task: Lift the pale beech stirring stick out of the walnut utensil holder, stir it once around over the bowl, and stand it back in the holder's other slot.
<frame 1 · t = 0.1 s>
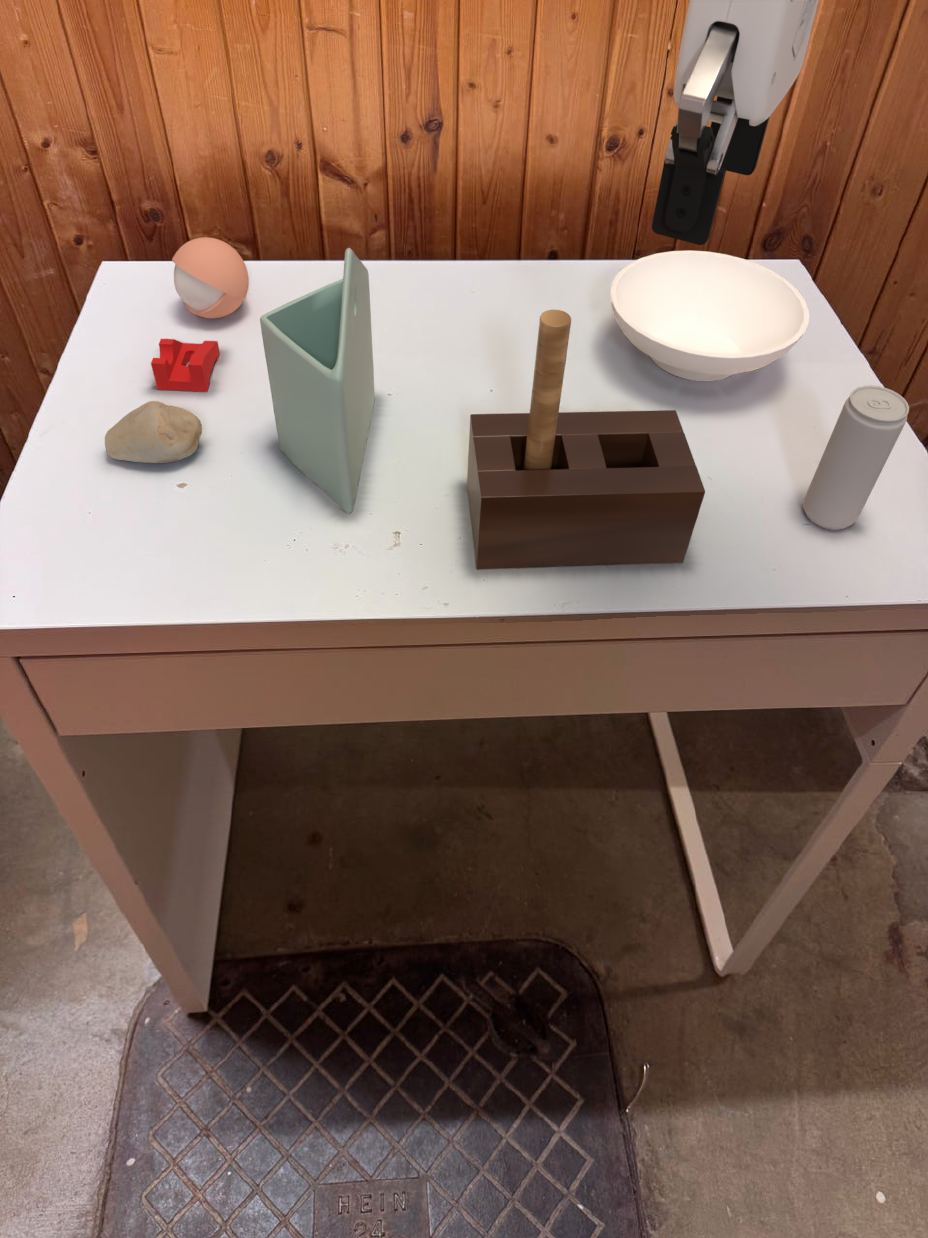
hand: (704, 201, 54), 30 cm above the table, tool pointing down, fingers open, 9 cm apart
stone: (160, 451, 85), on the table
toy ball: (217, 313, 99), on the table
bowl: (693, 360, 97), on the table
stirring stick: (530, 524, 80), resting in holder
holder: (571, 523, 80), on the table
bracket: (189, 372, 92), on the table
planter: (322, 451, 85), on the table
beverage can: (827, 515, 82), on the table
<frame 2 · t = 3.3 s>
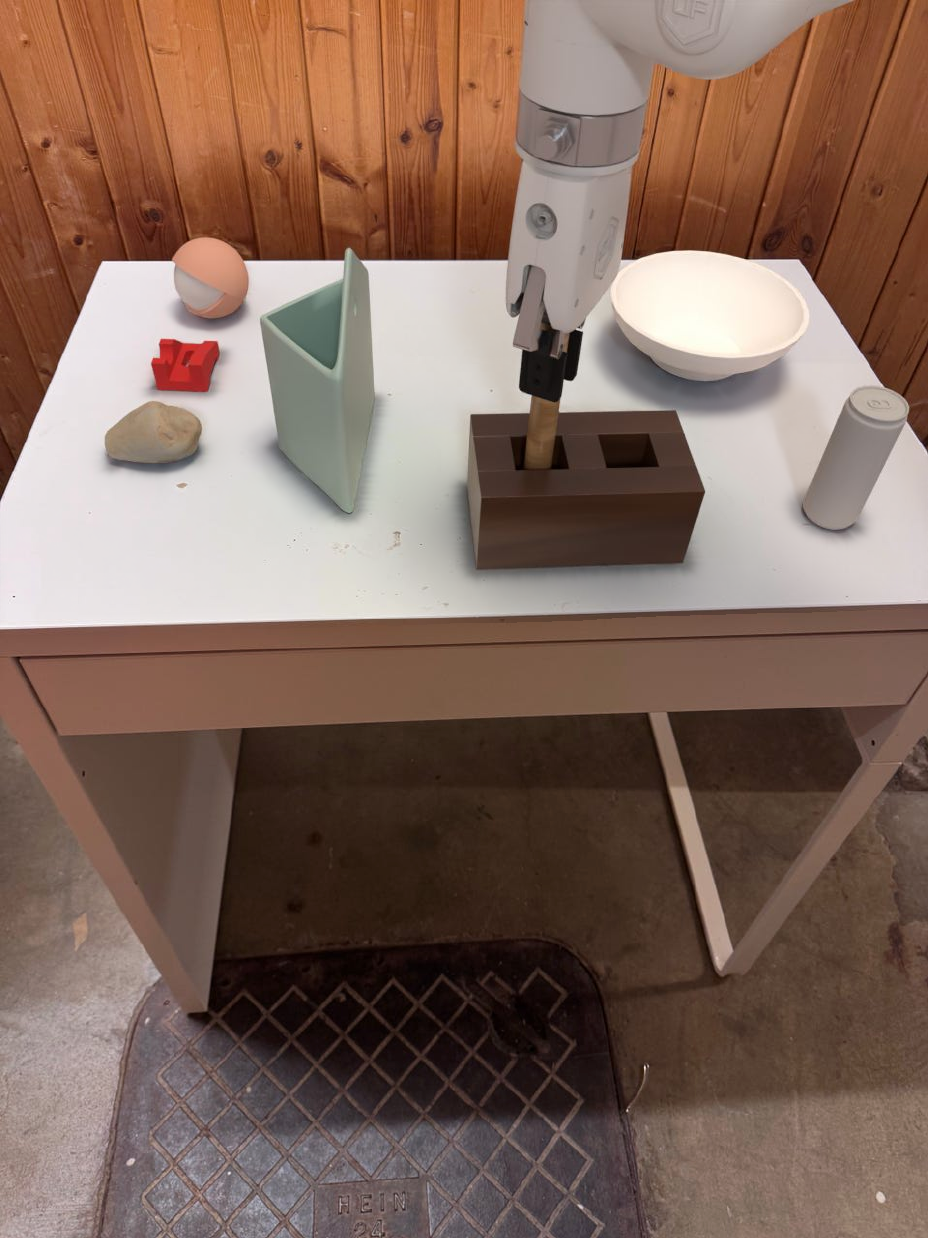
hand: (547, 382, 69), 15 cm above the table, tool pointing down, fingers closed on stirring stick, 2 cm apart
stirring stick: (530, 524, 80), resting in holder, touching gripper
everything else where it was.
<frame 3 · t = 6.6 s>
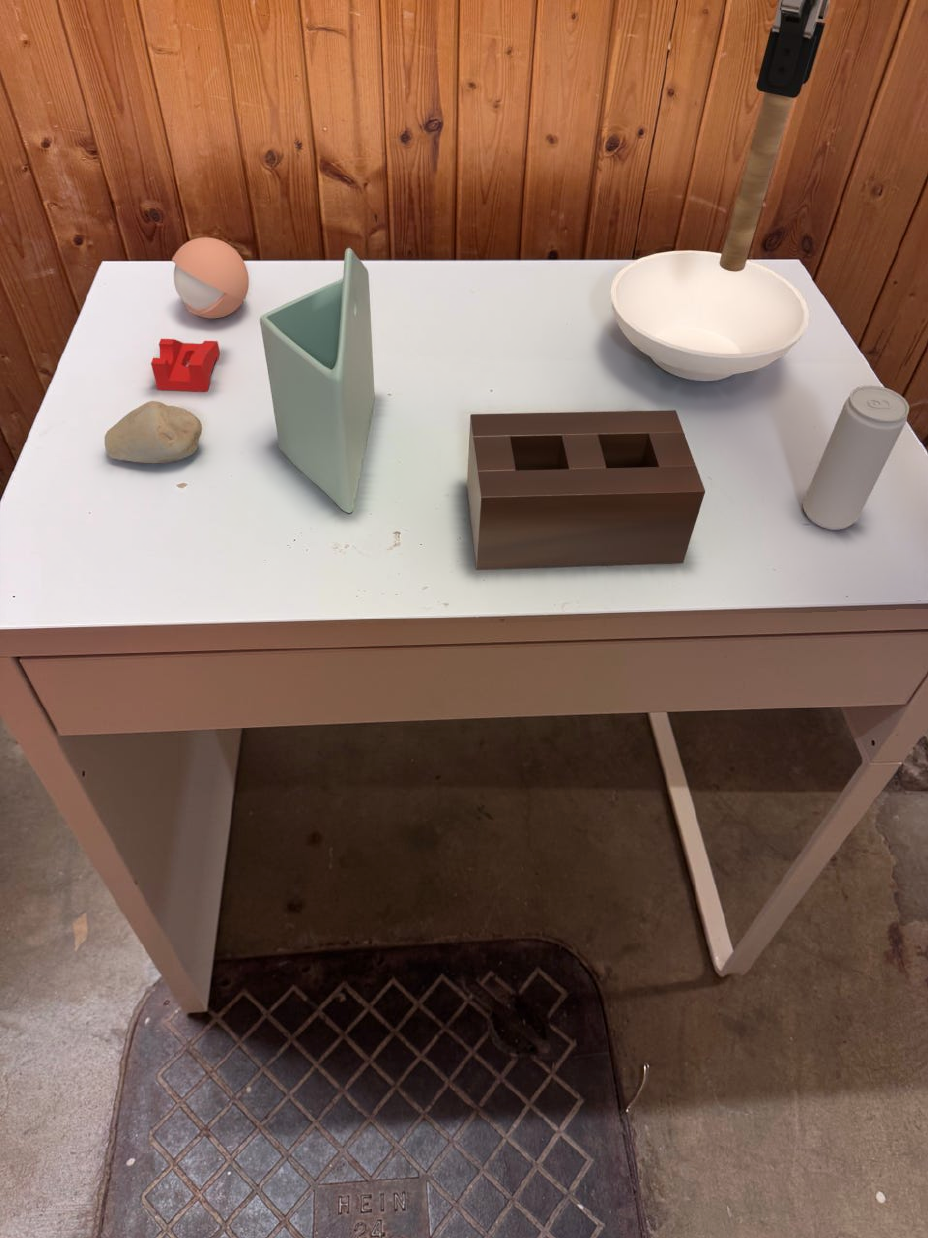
hand: (782, 83, 69), 29 cm above the table, tool pointing down, fingers closed on stirring stick
stirring stick: (731, 265, 81), point 15 cm above the table, touching gripper
everything else where it was.
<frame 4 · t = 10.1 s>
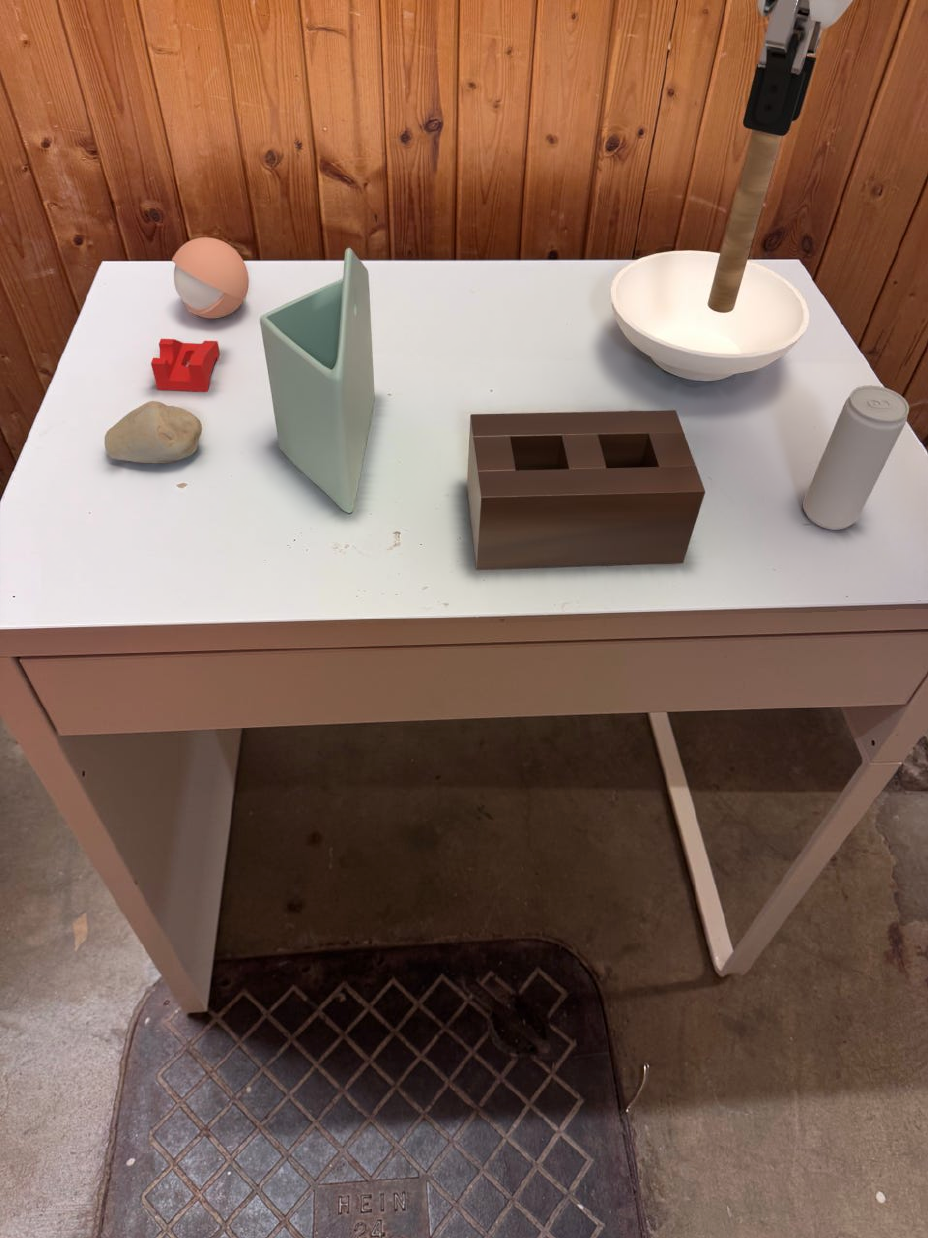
hand: (771, 120, 66), 29 cm above the table, tool pointing down, fingers closed on stirring stick
stirring stick: (720, 305, 77), point 14 cm above the table, touching gripper
everything else where it was.
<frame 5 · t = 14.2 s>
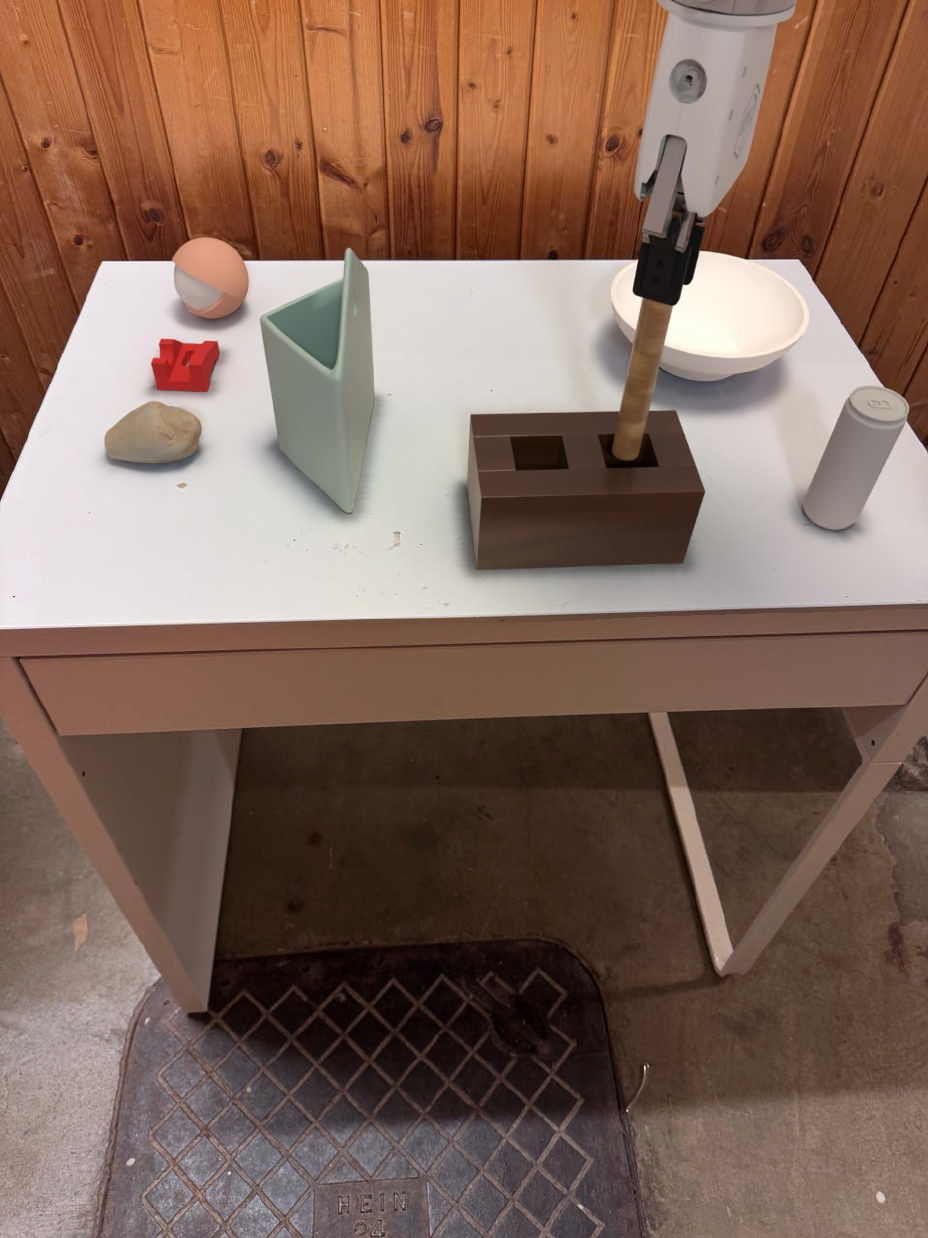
hand: (662, 286, 63), 22 cm above the table, tool pointing down, fingers closed on stirring stick
stirring stick: (625, 452, 74), point 8 cm above the table, touching gripper
everything else where it was.
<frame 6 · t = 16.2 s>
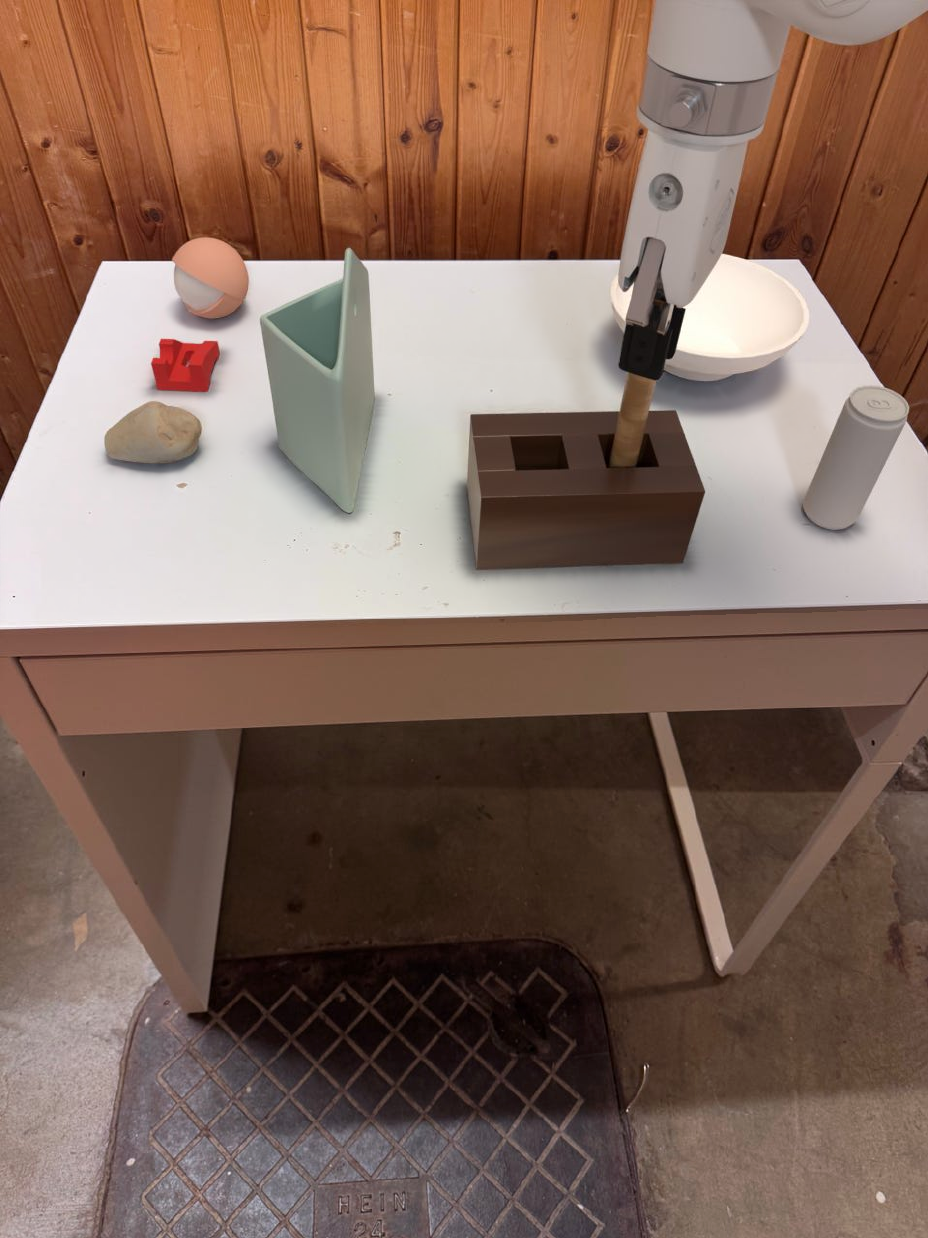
hand: (646, 361, 68), 16 cm above the table, tool pointing down, fingers closed on stirring stick, 2 cm apart
stirring stick: (613, 506, 79), point 2 cm above the table, touching gripper
everything else where it was.
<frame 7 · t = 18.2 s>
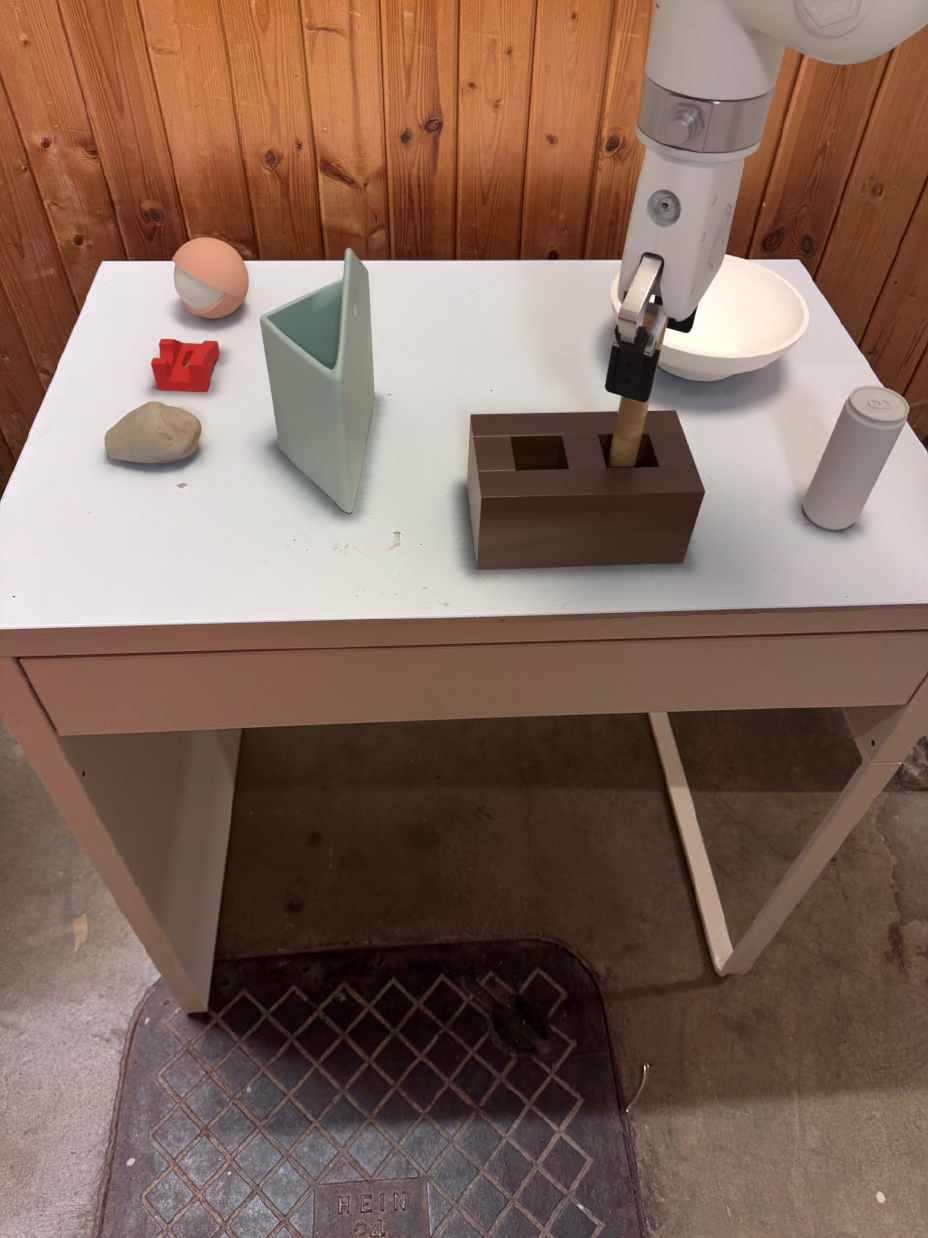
hand: (649, 359, 68), 17 cm above the table, tool pointing down, fingers open, 9 cm apart
stirring stick: (609, 521, 80), resting in holder
everything else where it was.
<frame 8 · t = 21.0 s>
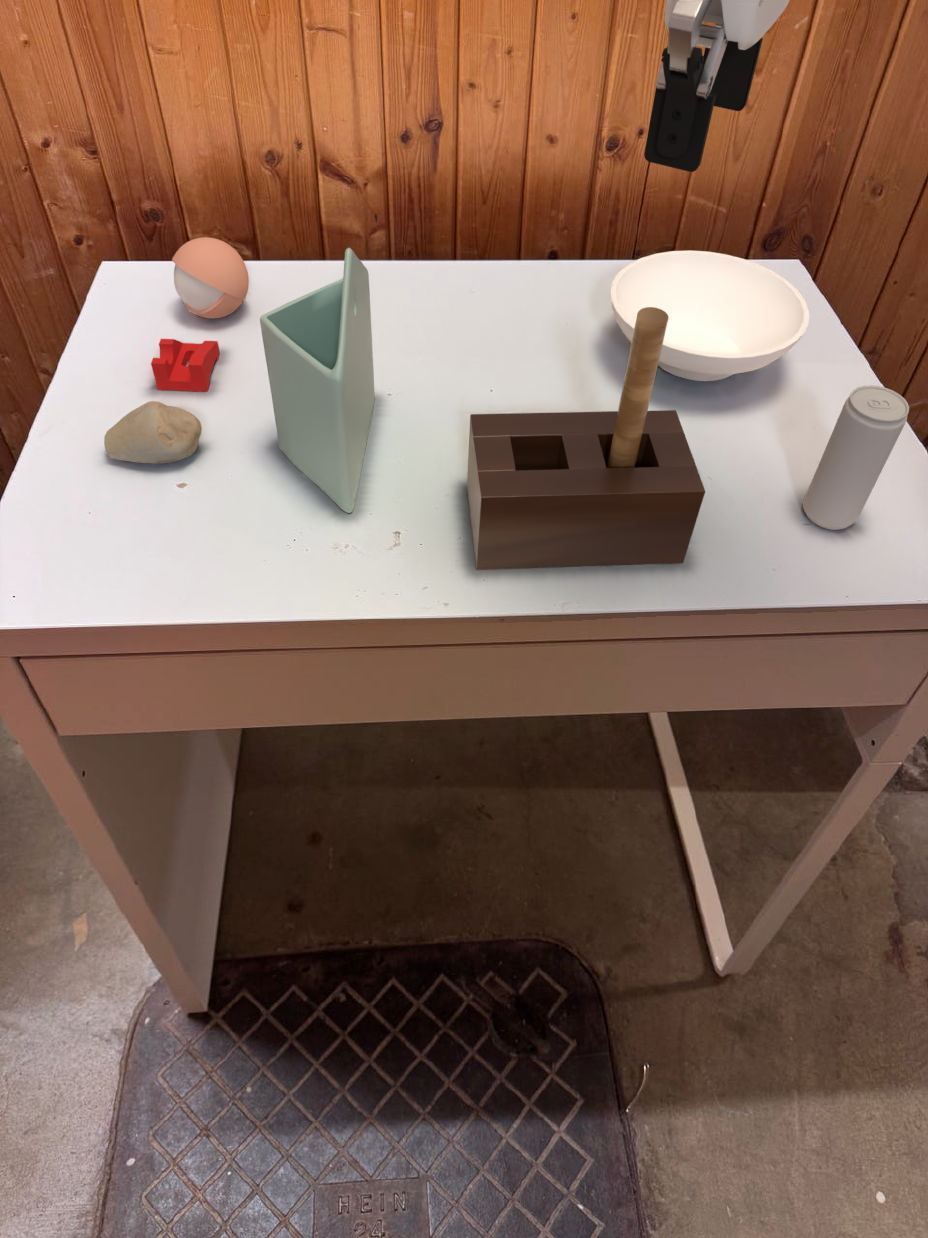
hand: (696, 133, 56), 32 cm above the table, tool pointing down, fingers open, 9 cm apart
nothing on the table moved.
at the end: stirring stick 0.3 cm from the target spot in the holder, point 0.0 cm above the holder's base; stirring stick tilted 0°; bowl moved 0.2 cm from its start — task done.
